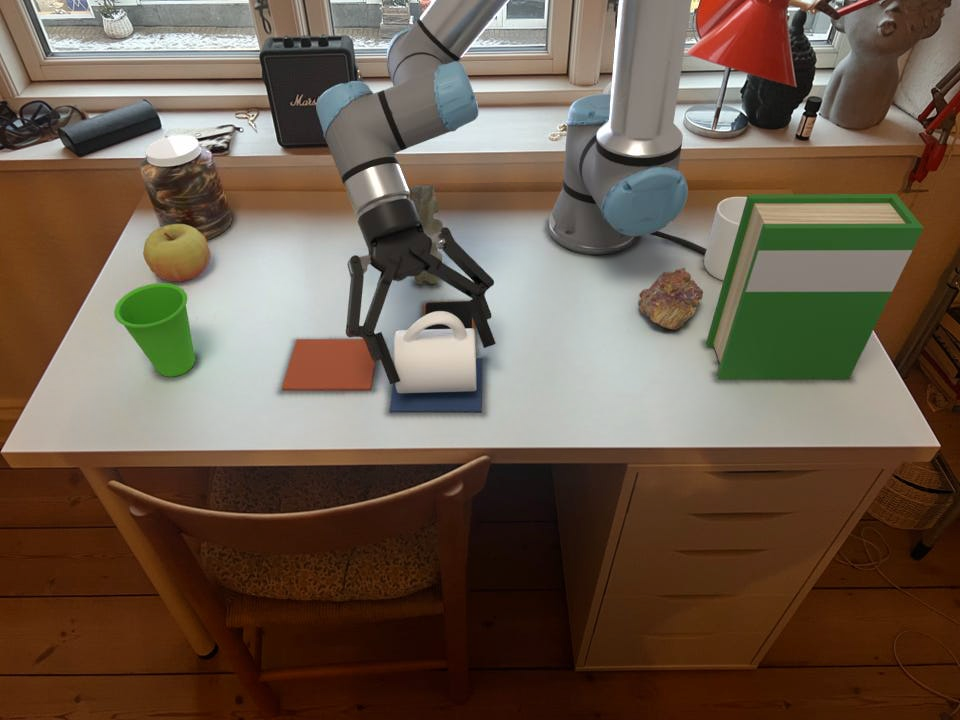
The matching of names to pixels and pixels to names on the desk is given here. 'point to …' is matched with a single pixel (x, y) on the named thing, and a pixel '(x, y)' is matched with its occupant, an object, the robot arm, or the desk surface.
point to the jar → (185, 185)
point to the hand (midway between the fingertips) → (444, 364)
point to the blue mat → (440, 399)
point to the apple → (176, 252)
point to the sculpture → (427, 222)
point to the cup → (159, 326)
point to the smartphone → (452, 307)
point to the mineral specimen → (671, 299)
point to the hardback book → (808, 283)
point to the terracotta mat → (329, 365)
